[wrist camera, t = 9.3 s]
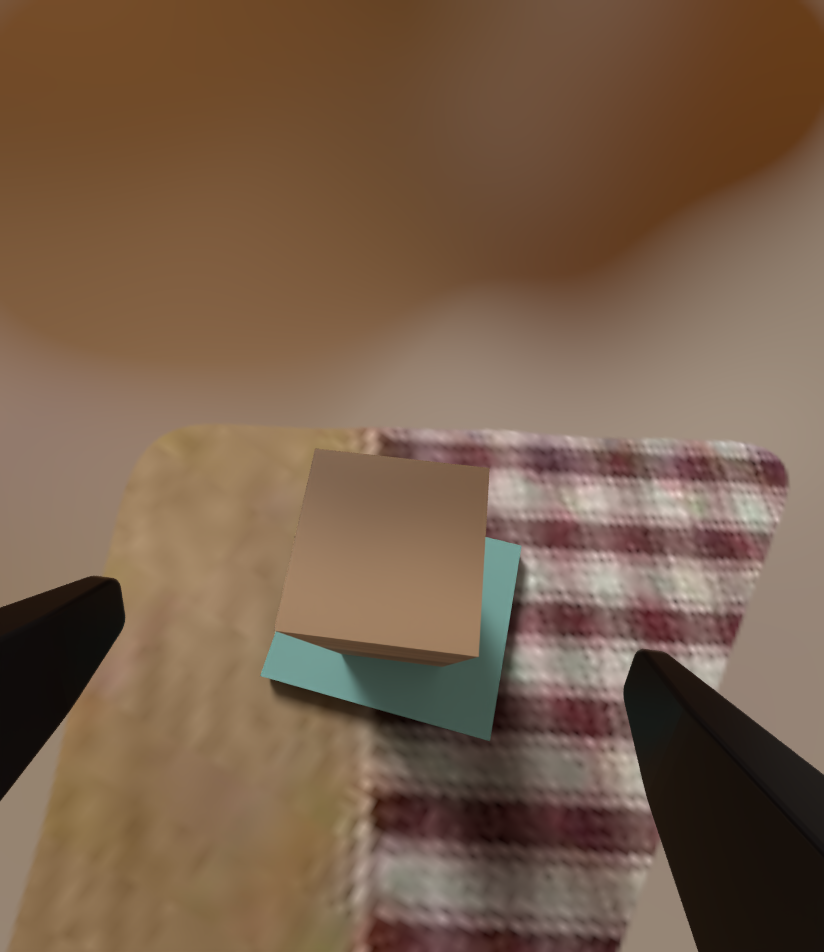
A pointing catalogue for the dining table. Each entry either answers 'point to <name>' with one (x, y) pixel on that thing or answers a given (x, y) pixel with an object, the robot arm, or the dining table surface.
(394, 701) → the mat
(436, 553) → the walnut block
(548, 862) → the dining table surface
